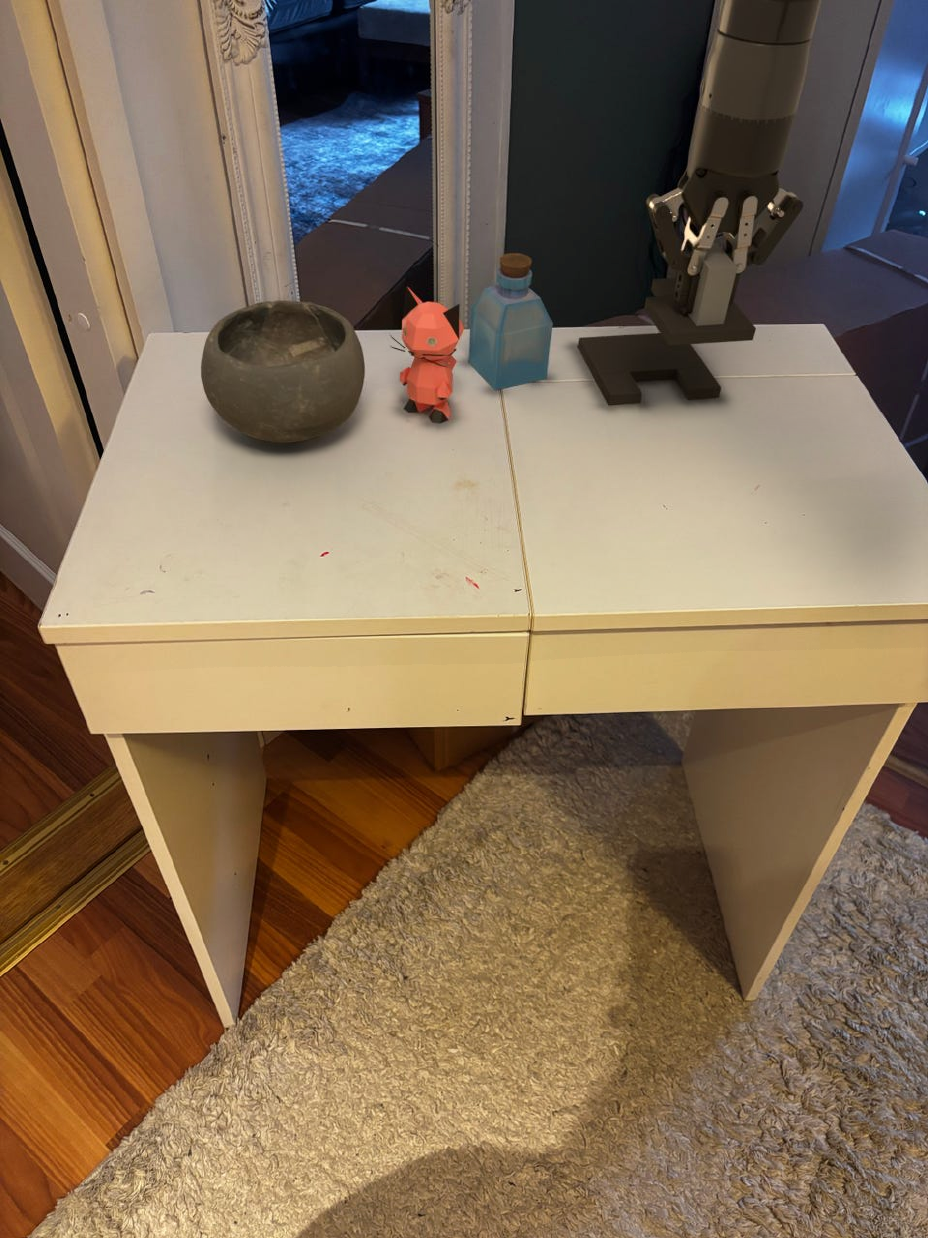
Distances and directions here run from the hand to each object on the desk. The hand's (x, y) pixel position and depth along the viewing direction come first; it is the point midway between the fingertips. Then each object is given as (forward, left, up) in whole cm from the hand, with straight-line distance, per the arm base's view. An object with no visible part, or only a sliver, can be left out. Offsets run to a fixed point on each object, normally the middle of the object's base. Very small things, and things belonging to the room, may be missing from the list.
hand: (701, 308), depth 85 cm
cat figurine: (+21, +13, -12) cm, 27 cm away
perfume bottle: (+19, +2, -12) cm, 23 cm away
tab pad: (+1, -1, -2) cm, 2 cm away
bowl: (+30, +24, -12) cm, 40 cm away
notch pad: (+7, -7, -12) cm, 16 cm away
